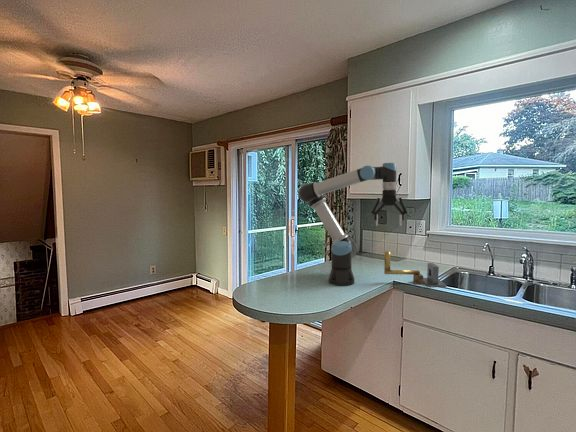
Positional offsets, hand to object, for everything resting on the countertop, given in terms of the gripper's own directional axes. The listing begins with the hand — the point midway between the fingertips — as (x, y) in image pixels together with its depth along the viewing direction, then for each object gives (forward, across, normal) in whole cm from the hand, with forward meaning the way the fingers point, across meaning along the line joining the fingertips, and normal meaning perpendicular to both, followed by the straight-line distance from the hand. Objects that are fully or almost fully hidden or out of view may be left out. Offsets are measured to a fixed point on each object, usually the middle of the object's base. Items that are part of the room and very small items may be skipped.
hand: (388, 225), depth 186 cm
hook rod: (+28, +7, -5) cm, 29 cm away
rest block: (+33, +16, -5) cm, 37 cm away
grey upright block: (+33, +24, -5) cm, 41 cm away
